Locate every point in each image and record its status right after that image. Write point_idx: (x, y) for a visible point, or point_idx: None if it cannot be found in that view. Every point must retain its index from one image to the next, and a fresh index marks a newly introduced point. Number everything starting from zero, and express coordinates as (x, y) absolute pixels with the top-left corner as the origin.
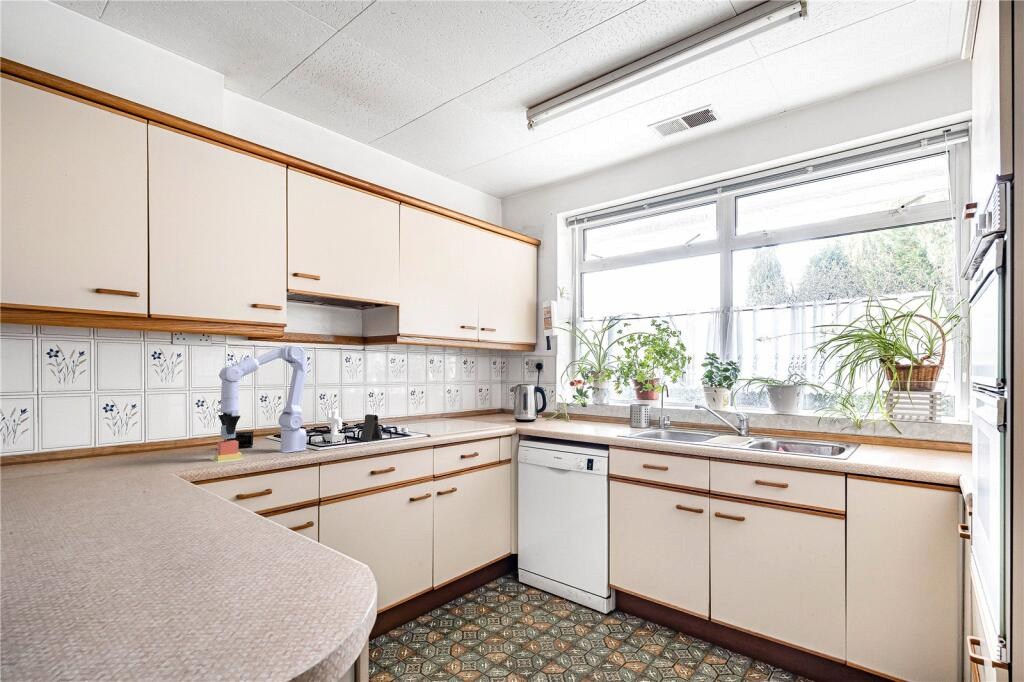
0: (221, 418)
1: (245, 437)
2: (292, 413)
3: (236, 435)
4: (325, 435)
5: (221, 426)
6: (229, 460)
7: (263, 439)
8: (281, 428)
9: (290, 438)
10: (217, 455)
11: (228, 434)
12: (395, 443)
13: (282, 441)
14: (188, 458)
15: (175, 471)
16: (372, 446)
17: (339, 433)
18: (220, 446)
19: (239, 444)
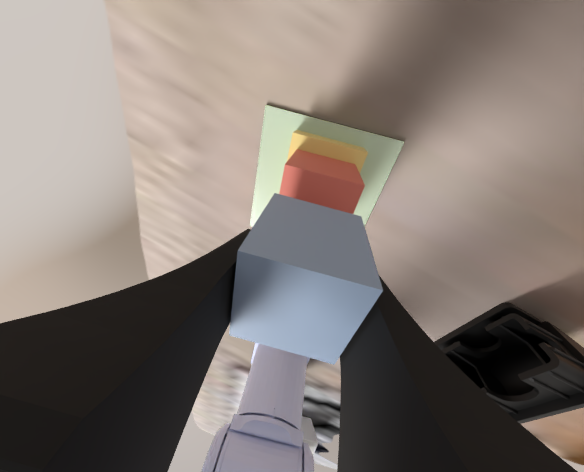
0: (429, 429)
1: (514, 394)
2: None
3: (522, 379)
4: (306, 438)
5: (362, 280)
6: (274, 173)
7: (527, 425)
8: (283, 428)
9: (248, 382)
10: (310, 137)
11: (244, 231)
12: (200, 423)
13: (274, 367)
14: (575, 73)
15: None
16: (199, 405)
17: None
18: (298, 161)
19: (497, 348)
